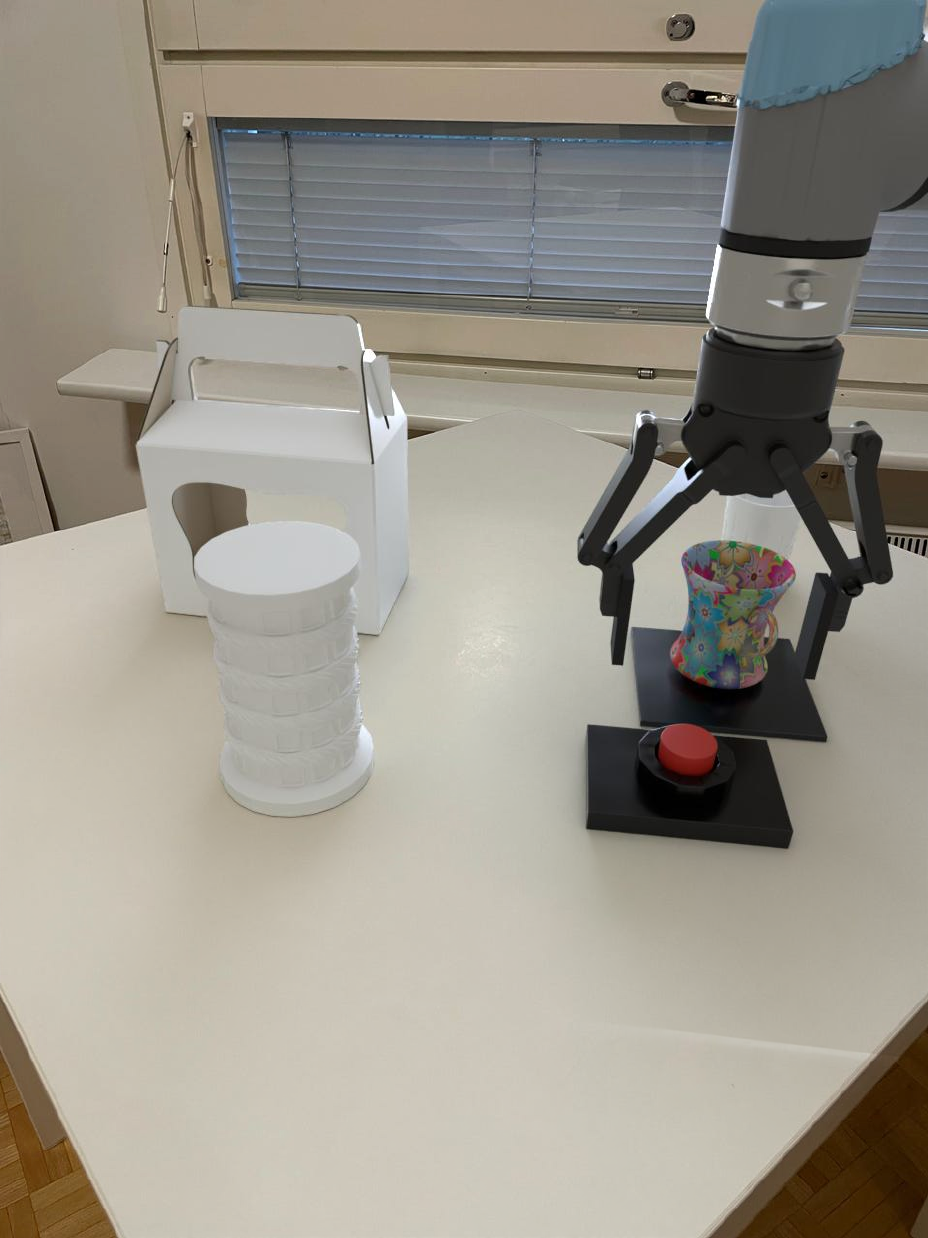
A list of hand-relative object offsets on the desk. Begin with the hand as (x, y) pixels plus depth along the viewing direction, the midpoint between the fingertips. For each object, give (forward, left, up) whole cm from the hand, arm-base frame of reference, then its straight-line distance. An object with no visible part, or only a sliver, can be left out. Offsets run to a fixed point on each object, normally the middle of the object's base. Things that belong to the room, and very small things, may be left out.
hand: (709, 661), depth 59 cm
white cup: (-11, -36, -12) cm, 40 cm away
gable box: (+37, -25, -12) cm, 47 cm away
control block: (0, 0, -12) cm, 12 cm away
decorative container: (+29, +1, -12) cm, 32 cm away
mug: (-5, -15, -12) cm, 20 cm away
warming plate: (-5, -15, -12) cm, 20 cm away
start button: (0, 0, -9) cm, 9 cm away
